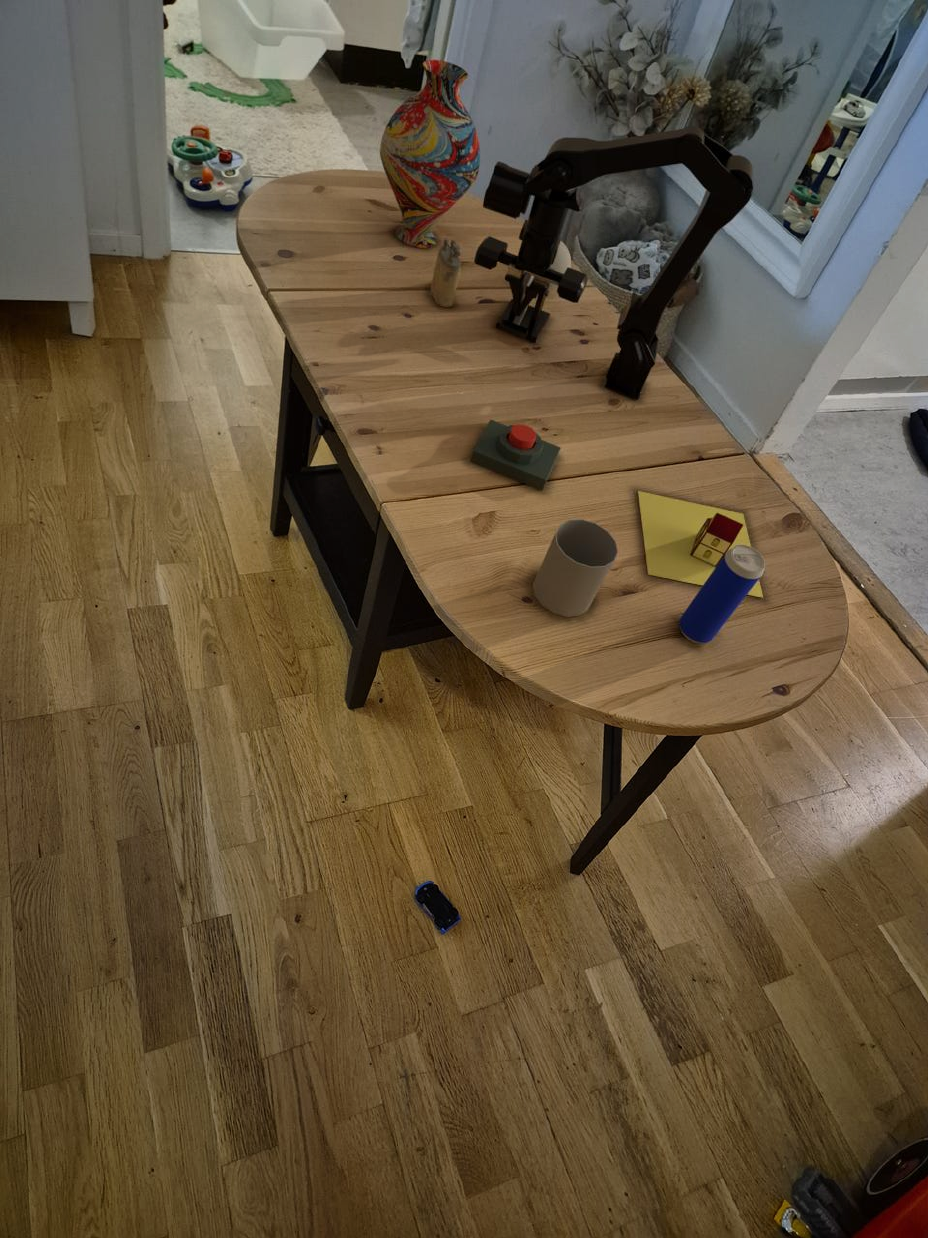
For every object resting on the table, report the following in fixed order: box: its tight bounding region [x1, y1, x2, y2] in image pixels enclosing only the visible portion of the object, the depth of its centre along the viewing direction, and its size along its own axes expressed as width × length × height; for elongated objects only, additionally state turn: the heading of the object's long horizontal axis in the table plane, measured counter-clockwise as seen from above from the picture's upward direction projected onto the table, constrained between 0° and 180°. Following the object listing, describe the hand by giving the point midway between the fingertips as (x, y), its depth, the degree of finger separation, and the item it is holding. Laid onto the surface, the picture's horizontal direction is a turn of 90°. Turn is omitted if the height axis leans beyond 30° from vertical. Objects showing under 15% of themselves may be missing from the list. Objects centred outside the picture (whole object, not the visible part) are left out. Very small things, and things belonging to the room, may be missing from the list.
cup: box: [532, 518, 619, 618], centre depth 105 cm, size 8×8×10 cm
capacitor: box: [429, 237, 462, 308], centre depth 146 cm, size 7×4×10 cm, turn 16°
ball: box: [529, 240, 572, 292], centre depth 156 cm, size 10×10×10 cm
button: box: [508, 424, 537, 450], centre depth 121 cm, size 4×4×2 cm
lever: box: [498, 275, 538, 340], centre depth 143 cm, size 12×5×2 cm, turn 161°
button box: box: [469, 419, 562, 492], centre depth 123 cm, size 12×9×4 cm
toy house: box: [690, 512, 744, 567], centre depth 118 cm, size 6×7×8 cm
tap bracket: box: [494, 274, 551, 344], centre depth 147 cm, size 10×8×9 cm
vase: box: [379, 59, 481, 249], centre depth 150 cm, size 19×19×30 cm
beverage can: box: [678, 545, 766, 644], centre depth 104 cm, size 5×5×15 cm
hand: (517, 314), depth 140 cm, fingers closed
